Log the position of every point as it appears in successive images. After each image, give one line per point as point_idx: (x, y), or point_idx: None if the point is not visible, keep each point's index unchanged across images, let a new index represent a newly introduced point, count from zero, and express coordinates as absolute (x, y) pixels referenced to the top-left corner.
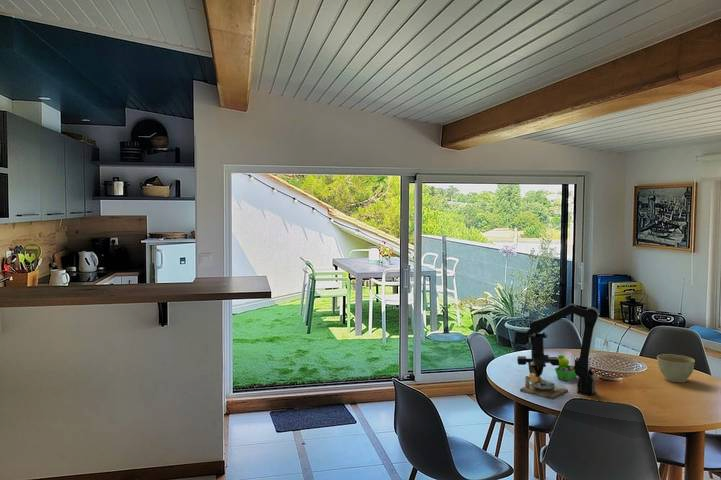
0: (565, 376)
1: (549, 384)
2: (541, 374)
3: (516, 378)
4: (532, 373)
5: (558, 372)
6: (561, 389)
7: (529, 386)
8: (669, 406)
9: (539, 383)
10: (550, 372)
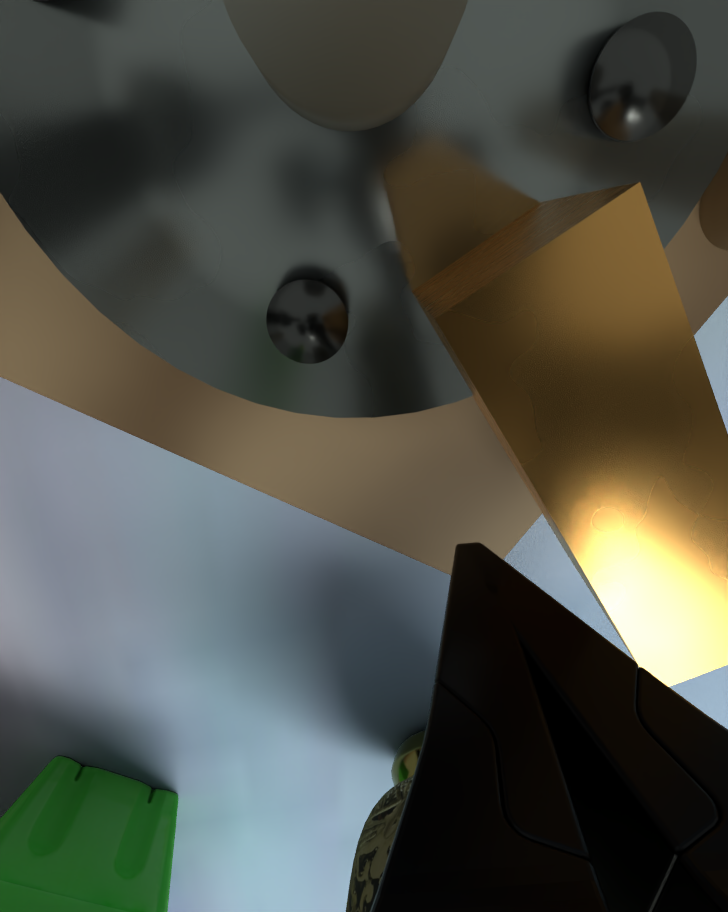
0: (41, 817)
1: (123, 48)
2: (371, 812)
3: (706, 706)
4: (684, 666)
5: (127, 889)
6: None
7: (683, 247)
8: None
9: (492, 80)
10: (274, 902)
